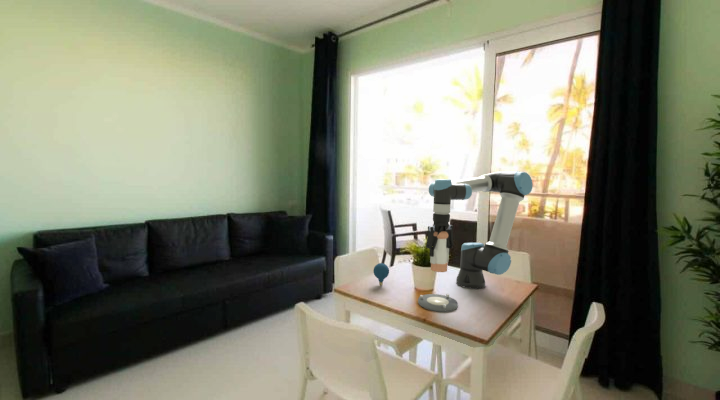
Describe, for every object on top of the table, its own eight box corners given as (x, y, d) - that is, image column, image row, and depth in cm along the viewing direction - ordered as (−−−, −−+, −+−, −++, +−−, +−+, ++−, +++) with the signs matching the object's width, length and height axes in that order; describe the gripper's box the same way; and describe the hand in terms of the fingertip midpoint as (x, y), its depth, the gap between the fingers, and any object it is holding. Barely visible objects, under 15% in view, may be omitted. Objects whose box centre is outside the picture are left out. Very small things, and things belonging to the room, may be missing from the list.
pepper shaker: (447, 268, 155) (449, 228, 153) (446, 273, 148) (448, 230, 146) (431, 267, 157) (433, 227, 155) (430, 271, 150) (432, 229, 148)
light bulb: (381, 281, 183) (382, 260, 182) (391, 286, 176) (392, 264, 175) (369, 284, 178) (370, 262, 177) (380, 289, 171) (380, 266, 170)
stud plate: (447, 295, 164) (447, 290, 164) (464, 310, 146) (465, 305, 146) (412, 297, 161) (413, 291, 161) (426, 312, 143) (426, 306, 143)
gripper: (451, 211, 158) (449, 258, 160) (418, 212, 148) (416, 262, 150) (463, 213, 152) (461, 262, 154) (430, 215, 142) (427, 267, 144)
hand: (439, 262), depth 152 cm, fingers closed on pepper shaker, 7 cm apart
